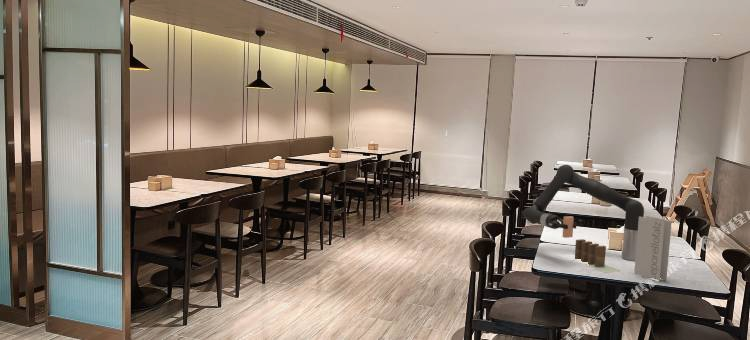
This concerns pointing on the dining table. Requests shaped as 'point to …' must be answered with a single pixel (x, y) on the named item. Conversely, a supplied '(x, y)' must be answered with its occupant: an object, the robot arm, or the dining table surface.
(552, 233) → the dining table surface
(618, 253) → the dining table surface
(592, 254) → the tile
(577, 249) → the tile
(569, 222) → the tile
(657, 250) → the brochure
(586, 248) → the tile
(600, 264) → the tile
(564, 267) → the dining table surface
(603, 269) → the mat
